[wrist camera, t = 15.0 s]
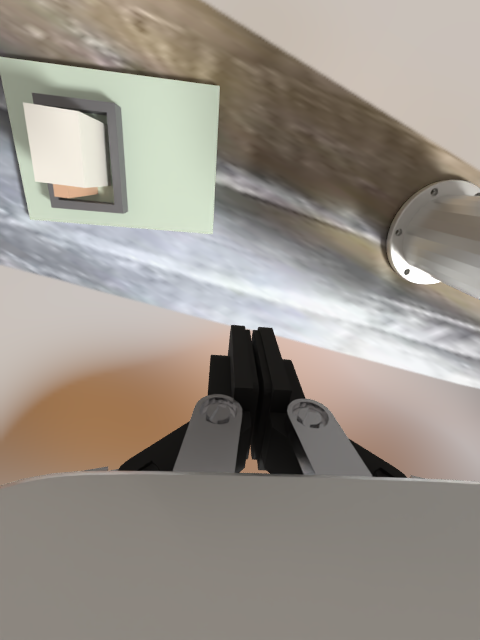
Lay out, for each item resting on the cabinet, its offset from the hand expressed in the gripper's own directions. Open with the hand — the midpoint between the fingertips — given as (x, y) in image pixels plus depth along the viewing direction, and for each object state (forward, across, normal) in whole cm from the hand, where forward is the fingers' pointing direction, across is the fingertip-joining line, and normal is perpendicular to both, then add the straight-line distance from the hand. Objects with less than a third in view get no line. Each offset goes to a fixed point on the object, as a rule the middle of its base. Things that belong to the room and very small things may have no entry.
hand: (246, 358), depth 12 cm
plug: (+25, +15, -7) cm, 30 cm away
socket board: (+26, +12, -7) cm, 30 cm away
